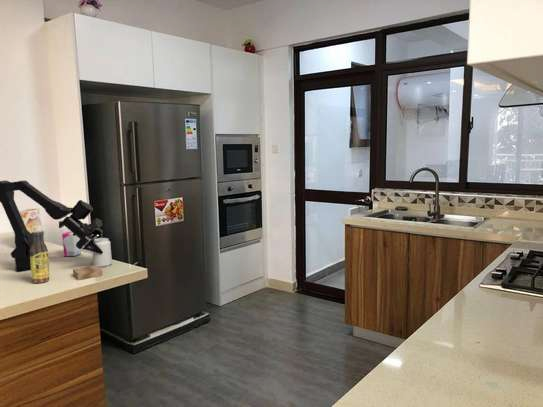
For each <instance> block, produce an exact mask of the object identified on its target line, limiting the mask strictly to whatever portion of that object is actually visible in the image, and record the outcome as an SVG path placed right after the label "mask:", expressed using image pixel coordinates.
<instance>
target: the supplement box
mask: <svg viewBox="0 0 543 407" xmlns="http://www.w3.org/2000/svg"><path fill="white" fill-rule="evenodd" d="M72 234H73V232H71V231H67V232H64V233H62V234H61V235H62V247H63V257H64V258H75V257H77V256H81V255H82V249H78V248H77V247H76V243H77V242H78V241H79V240H80V238H78V237H77V236H76V235H75V236H73V235H72ZM80 254H81V255H80Z"/></svg>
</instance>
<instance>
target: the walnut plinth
mask: <svg viewBox="0 0 543 407" xmlns="http://www.w3.org/2000/svg"><path fill="white" fill-rule="evenodd" d="M72 273H73V274H72V275H73V277H75V279H77V280H78V281H81V280H87V279H92V278H97V277H102V276H103V269H102V268H99V267H98V266H96V265H94V264H93V265H89V266H83V267H79V268H73V269H72Z"/></svg>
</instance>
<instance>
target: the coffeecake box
mask: <svg viewBox="0 0 543 407" xmlns="http://www.w3.org/2000/svg"><path fill="white" fill-rule="evenodd" d="M19 213H20V215H21V217H22V220H23V222H24V224H25V226H26V229H27V230H28V231H29V232H30V233H32V232H33V231H43V228H42V219H41V218H42V217H41V209H40V208H27V209H22V210H19ZM13 233H14V232H13ZM13 235H14V237H15V233H14V234H13ZM14 245H15V244H14ZM15 247H16V245H15Z"/></svg>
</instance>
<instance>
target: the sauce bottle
mask: <svg viewBox="0 0 543 407" xmlns="http://www.w3.org/2000/svg"><path fill="white" fill-rule="evenodd" d="M44 235H45V232H44V230H42V231H33V232H32V236H33V245H32V246H31V249H30V262H31V270H30V274H31V277H30V278H31V283H33V284H43V283H47V282H49V281H50V261H49V251H48V248H47V245H46V244H45V240H44Z"/></svg>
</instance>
